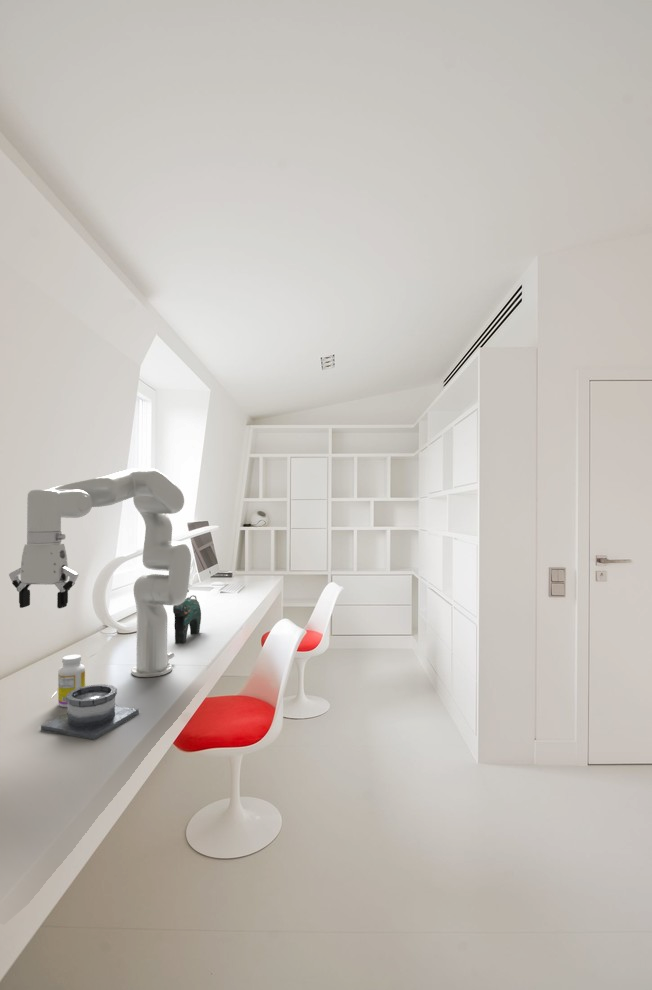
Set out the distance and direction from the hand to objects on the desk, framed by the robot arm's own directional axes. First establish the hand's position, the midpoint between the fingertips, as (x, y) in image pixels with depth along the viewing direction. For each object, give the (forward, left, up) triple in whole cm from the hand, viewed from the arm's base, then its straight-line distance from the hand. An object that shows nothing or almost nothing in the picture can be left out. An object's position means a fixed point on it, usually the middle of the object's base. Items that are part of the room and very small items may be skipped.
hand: (43, 607), depth 133 cm
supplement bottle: (-13, -3, -30) cm, 32 cm away
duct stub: (-5, +11, -29) cm, 31 cm away
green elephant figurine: (-83, -12, -30) cm, 89 cm away
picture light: (-21, -13, -30) cm, 39 cm away
